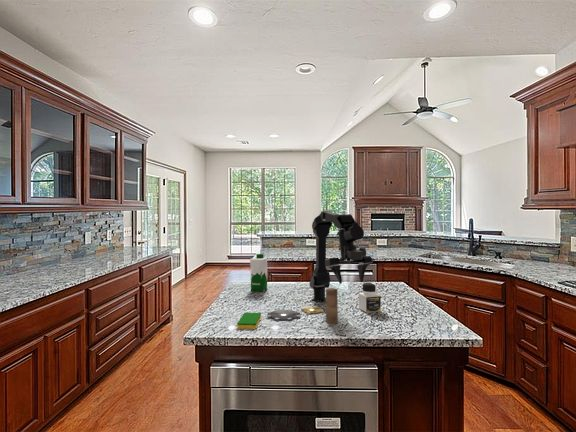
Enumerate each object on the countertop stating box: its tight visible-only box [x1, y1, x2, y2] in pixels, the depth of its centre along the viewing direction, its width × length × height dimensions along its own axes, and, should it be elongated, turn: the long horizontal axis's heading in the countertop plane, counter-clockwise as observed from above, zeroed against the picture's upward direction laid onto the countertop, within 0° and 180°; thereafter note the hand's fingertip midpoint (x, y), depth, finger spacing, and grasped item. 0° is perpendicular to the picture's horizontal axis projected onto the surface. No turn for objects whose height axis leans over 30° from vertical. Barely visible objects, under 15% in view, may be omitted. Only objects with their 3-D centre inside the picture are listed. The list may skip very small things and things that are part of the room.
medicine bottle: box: [358, 281, 382, 314], centre depth 148 cm, size 7×7×12 cm
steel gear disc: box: [266, 308, 301, 322], centre depth 141 cm, size 14×14×1 cm
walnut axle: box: [325, 287, 339, 325], centre depth 133 cm, size 4×4×13 cm
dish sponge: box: [236, 312, 262, 330], centre depth 133 cm, size 7×14×2 cm, turn 176°
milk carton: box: [249, 253, 268, 293], centre depth 188 cm, size 9×9×20 cm
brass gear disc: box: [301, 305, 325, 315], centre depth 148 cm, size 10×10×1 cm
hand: (351, 282), depth 133 cm, fingers open, 9 cm apart
